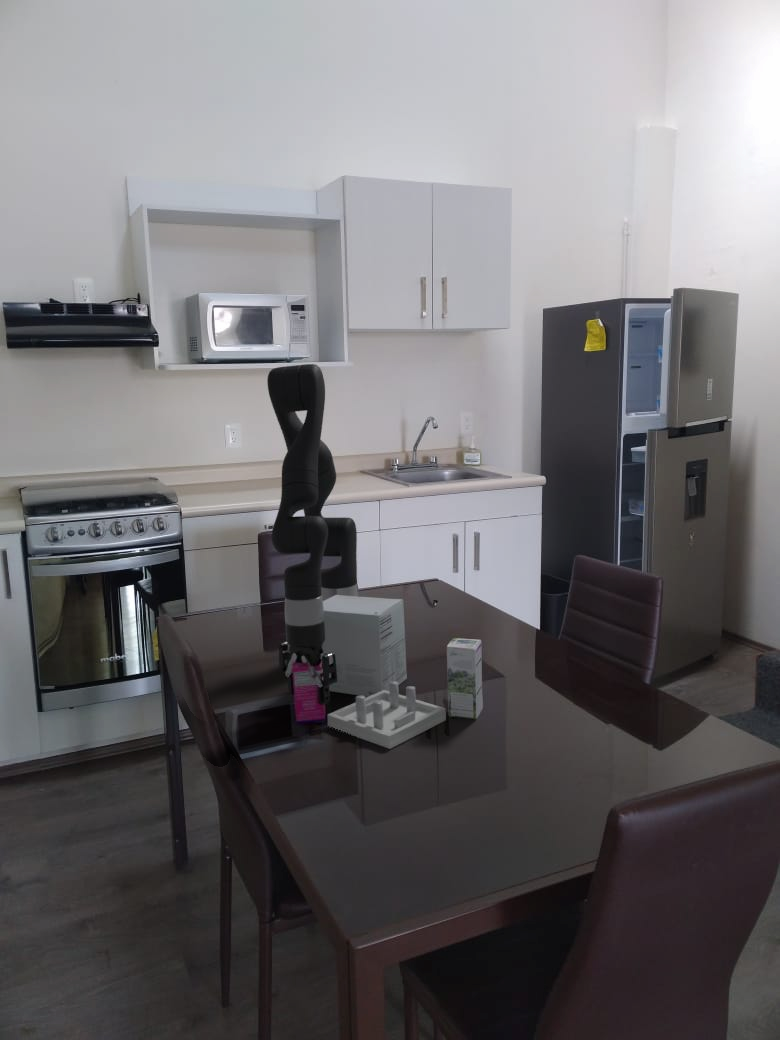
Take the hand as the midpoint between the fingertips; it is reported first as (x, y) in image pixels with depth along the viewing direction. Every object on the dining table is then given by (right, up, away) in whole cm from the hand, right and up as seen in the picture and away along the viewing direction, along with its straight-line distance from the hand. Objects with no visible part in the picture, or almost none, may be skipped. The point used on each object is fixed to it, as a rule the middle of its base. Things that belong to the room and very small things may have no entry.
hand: (308, 698), depth 163 cm
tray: (+15, -4, -4) cm, 16 cm away
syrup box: (+31, -3, 0) cm, 31 cm away
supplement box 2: (+9, -1, +18) cm, 20 cm away
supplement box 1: (0, -4, +1) cm, 4 cm away
